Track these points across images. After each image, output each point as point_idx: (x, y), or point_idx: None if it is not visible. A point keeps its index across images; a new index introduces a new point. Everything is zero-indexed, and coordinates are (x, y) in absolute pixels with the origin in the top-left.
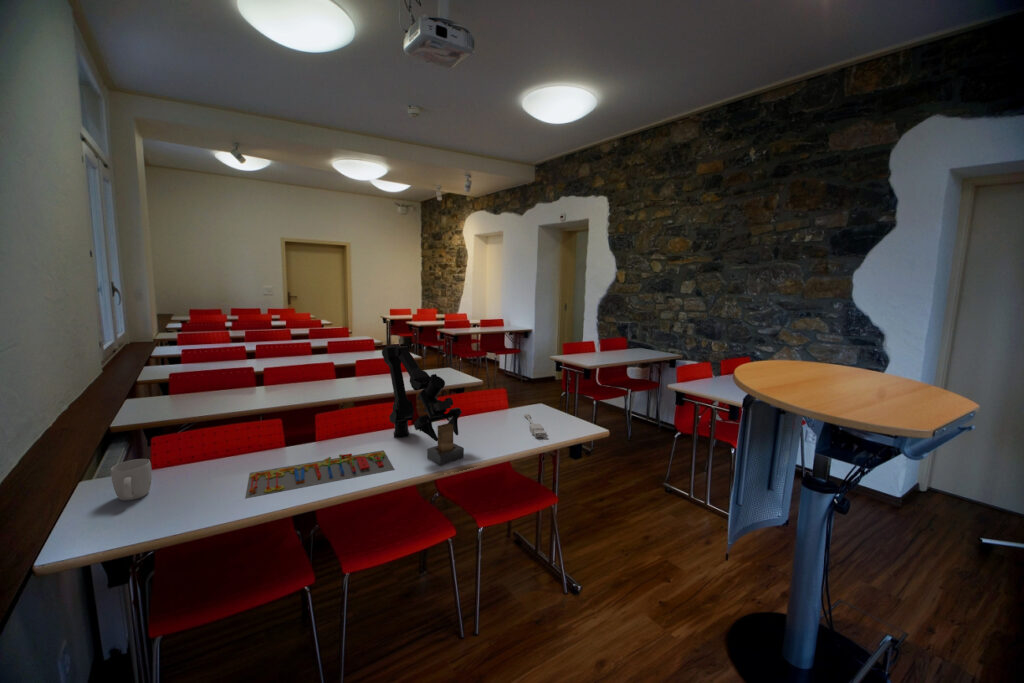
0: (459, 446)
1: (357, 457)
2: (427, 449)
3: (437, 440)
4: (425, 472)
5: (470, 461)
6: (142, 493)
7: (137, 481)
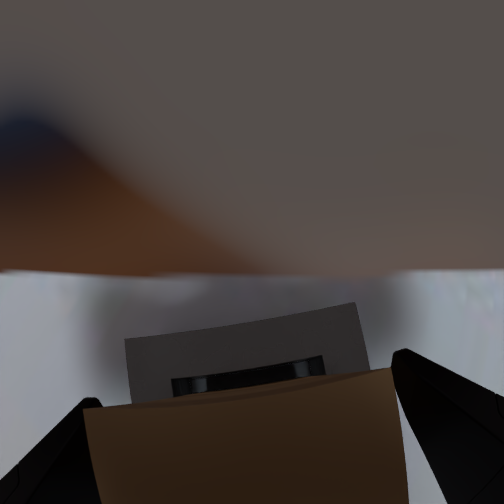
0: (135, 388)
1: None
2: None
3: (398, 353)
4: (428, 283)
5: (146, 282)
6: None
7: None
